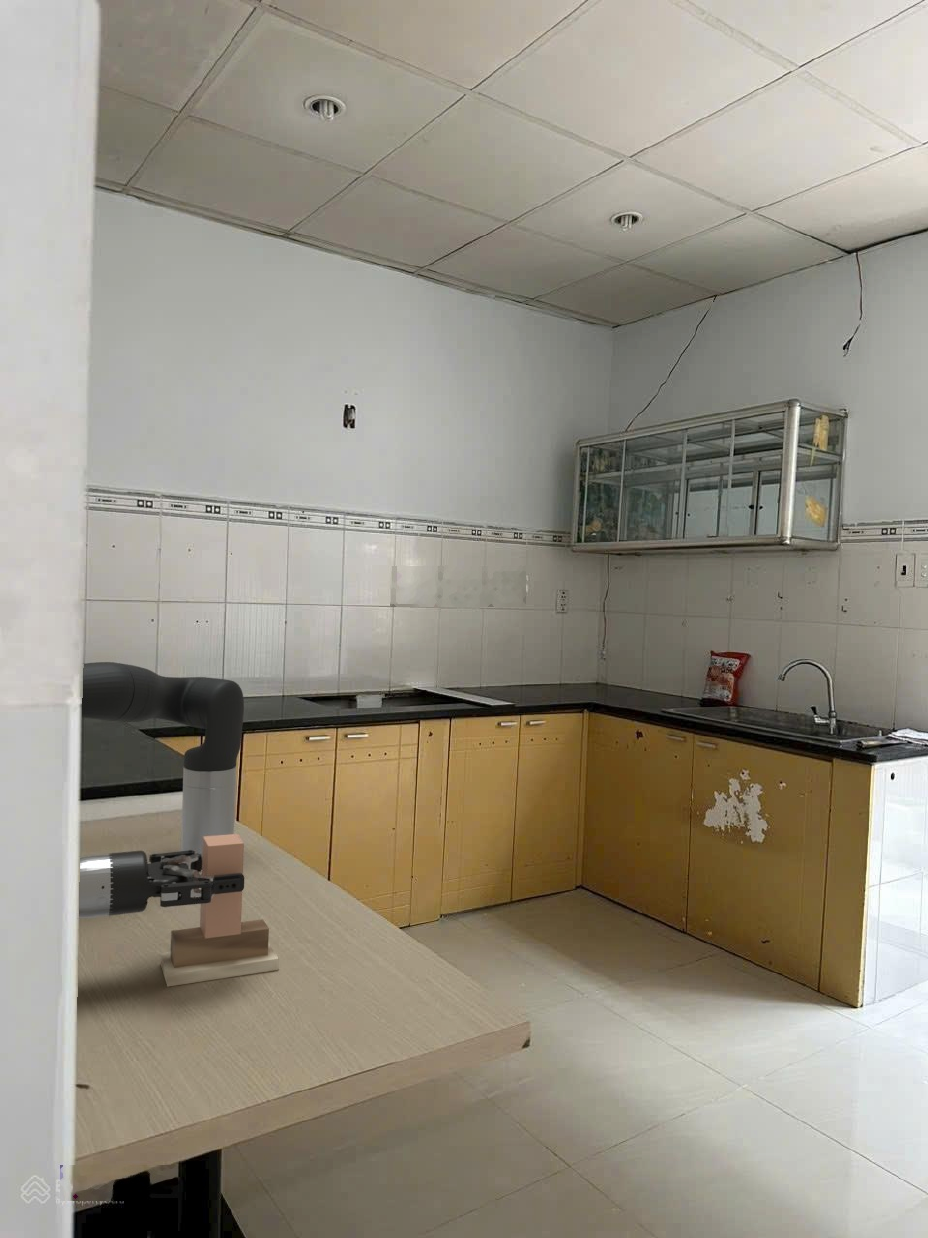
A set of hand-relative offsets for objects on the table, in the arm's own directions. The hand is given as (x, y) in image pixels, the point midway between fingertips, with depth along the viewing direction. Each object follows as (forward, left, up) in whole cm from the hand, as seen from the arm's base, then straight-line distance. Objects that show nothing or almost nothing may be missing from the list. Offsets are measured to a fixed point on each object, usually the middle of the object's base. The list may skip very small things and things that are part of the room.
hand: (237, 871), depth 117 cm
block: (0, -2, -8) cm, 8 cm away
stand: (0, -2, -13) cm, 13 cm away
